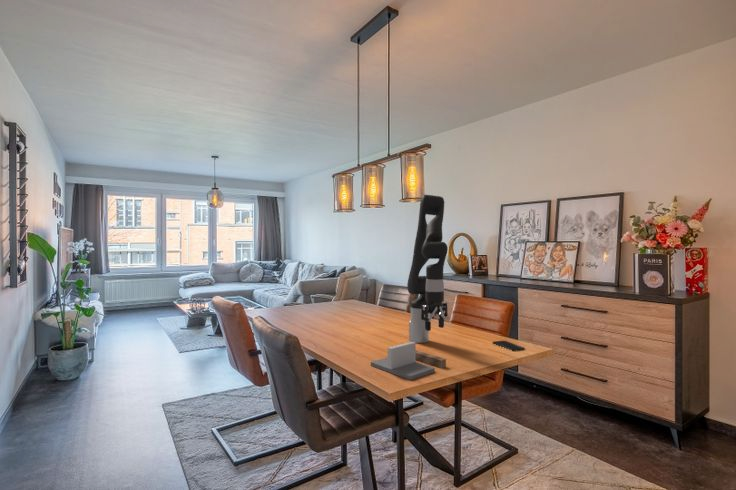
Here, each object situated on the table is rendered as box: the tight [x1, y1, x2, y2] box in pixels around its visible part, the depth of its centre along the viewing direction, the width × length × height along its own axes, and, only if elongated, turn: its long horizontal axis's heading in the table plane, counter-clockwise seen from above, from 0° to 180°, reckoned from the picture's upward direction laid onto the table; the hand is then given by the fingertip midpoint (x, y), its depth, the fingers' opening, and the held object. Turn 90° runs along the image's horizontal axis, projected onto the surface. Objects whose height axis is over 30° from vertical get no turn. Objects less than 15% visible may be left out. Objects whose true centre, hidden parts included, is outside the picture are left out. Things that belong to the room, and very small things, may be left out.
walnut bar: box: [416, 350, 447, 369], centre depth 166 cm, size 20×3×4 cm, turn 41°
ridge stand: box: [370, 341, 436, 381], centre depth 156 cm, size 22×14×10 cm, turn 41°
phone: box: [492, 340, 526, 352], centre depth 190 cm, size 8×1×15 cm
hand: (434, 328), depth 162 cm, fingers open, 8 cm apart
